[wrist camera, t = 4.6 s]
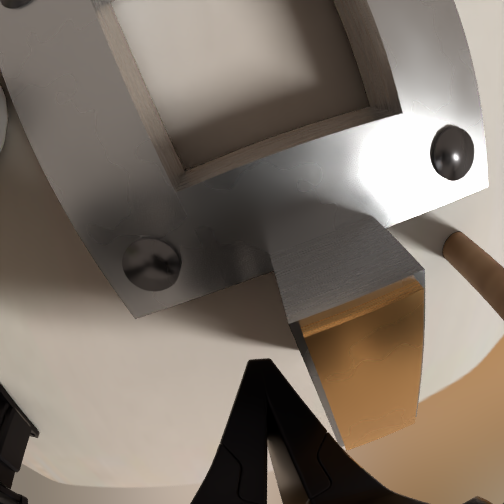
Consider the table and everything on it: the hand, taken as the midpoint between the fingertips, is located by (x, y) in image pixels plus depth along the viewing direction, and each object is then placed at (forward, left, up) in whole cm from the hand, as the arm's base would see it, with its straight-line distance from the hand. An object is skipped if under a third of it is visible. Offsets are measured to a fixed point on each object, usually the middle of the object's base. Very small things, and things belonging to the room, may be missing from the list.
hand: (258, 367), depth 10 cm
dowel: (+9, +3, -3) cm, 10 cm away
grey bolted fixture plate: (+1, +6, -3) cm, 7 cm away
